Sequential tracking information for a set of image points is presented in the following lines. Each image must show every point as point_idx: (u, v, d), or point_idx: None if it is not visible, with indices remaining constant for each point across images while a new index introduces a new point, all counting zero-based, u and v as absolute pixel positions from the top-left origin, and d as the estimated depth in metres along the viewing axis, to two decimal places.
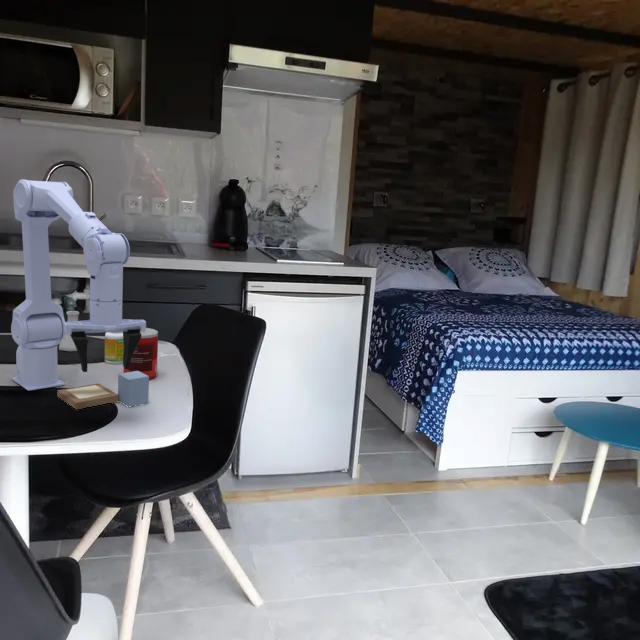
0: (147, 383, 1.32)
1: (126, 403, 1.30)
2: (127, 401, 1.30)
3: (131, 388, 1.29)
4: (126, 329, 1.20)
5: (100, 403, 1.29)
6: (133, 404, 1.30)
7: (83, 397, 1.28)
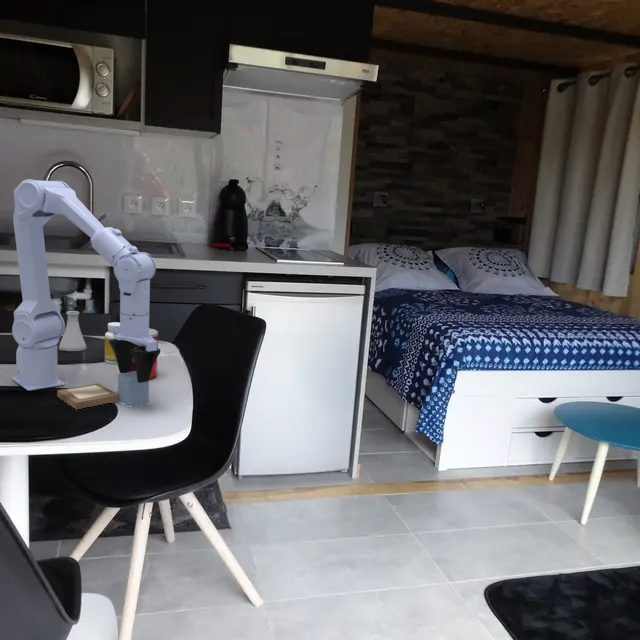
0: (147, 383, 1.32)
1: (126, 403, 1.30)
2: (127, 401, 1.30)
3: (131, 388, 1.29)
4: (142, 345, 1.27)
5: (100, 403, 1.29)
6: (133, 404, 1.30)
7: (83, 397, 1.28)
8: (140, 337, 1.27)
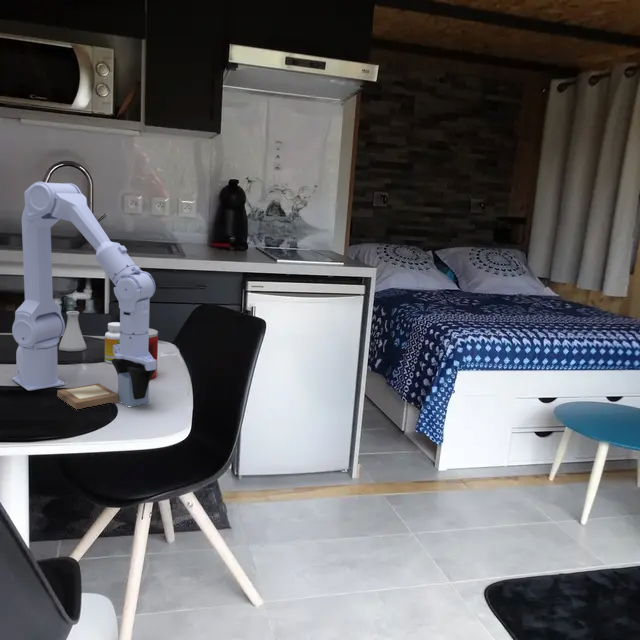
0: None
1: (126, 403, 1.30)
2: (127, 400, 1.30)
3: (131, 388, 1.29)
4: (141, 364, 1.28)
5: (100, 403, 1.29)
6: (133, 404, 1.30)
7: (83, 397, 1.28)
8: (140, 356, 1.28)
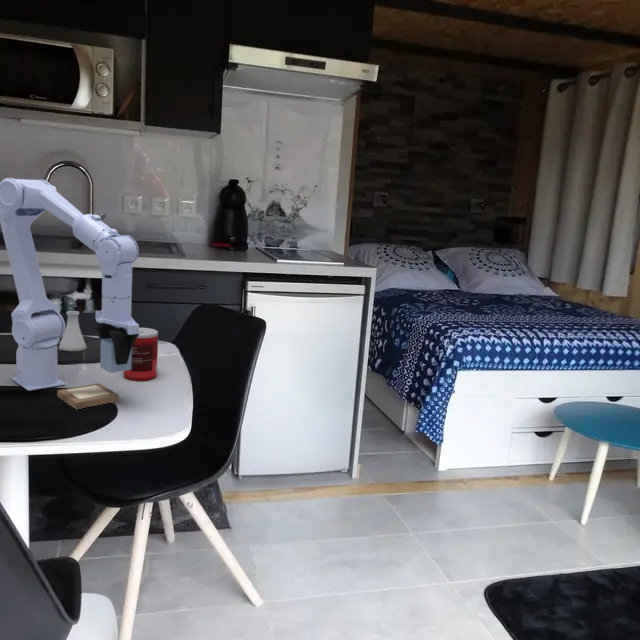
0: None
1: (108, 368, 1.28)
2: (109, 366, 1.28)
3: (113, 353, 1.27)
4: (123, 328, 1.26)
5: (100, 403, 1.29)
6: (115, 369, 1.29)
7: (83, 397, 1.28)
8: (122, 320, 1.26)
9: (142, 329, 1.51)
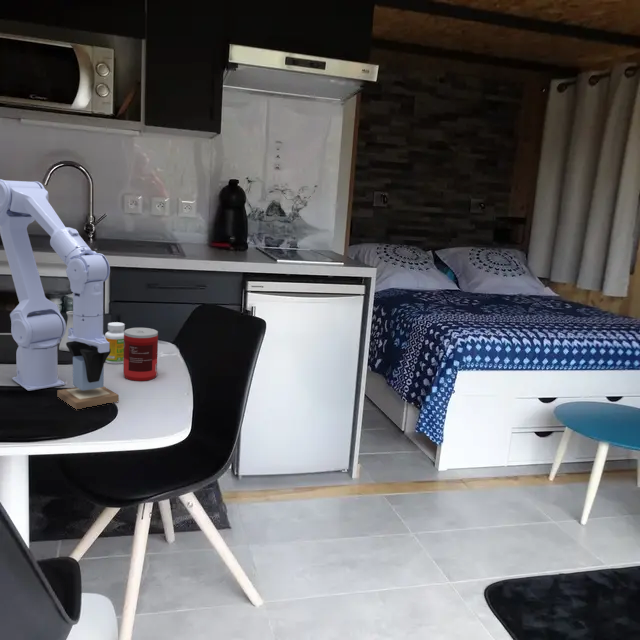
0: None
1: (80, 386, 1.29)
2: (81, 384, 1.28)
3: (85, 371, 1.28)
4: (95, 346, 1.27)
5: (100, 403, 1.29)
6: (87, 387, 1.29)
7: (83, 397, 1.28)
8: (93, 338, 1.27)
9: (142, 329, 1.51)
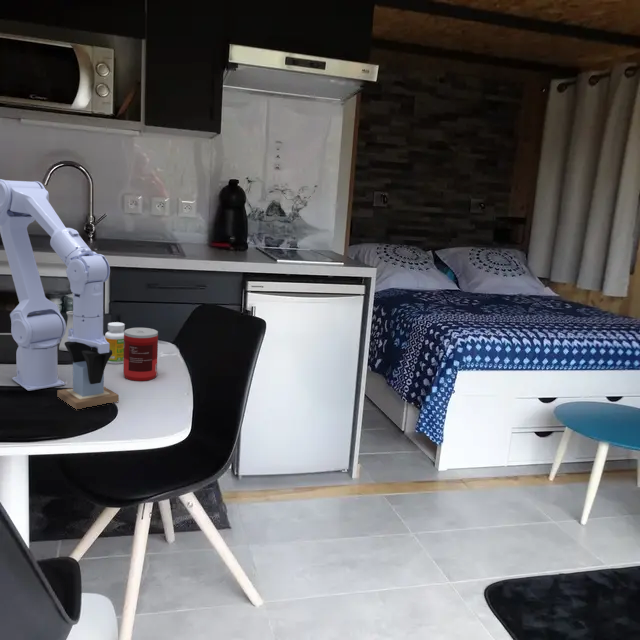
0: None
1: (80, 392, 1.29)
2: (81, 390, 1.28)
3: (85, 377, 1.28)
4: (95, 347, 1.27)
5: (100, 403, 1.29)
6: (87, 393, 1.29)
7: (83, 397, 1.28)
8: (93, 339, 1.27)
9: (142, 329, 1.51)
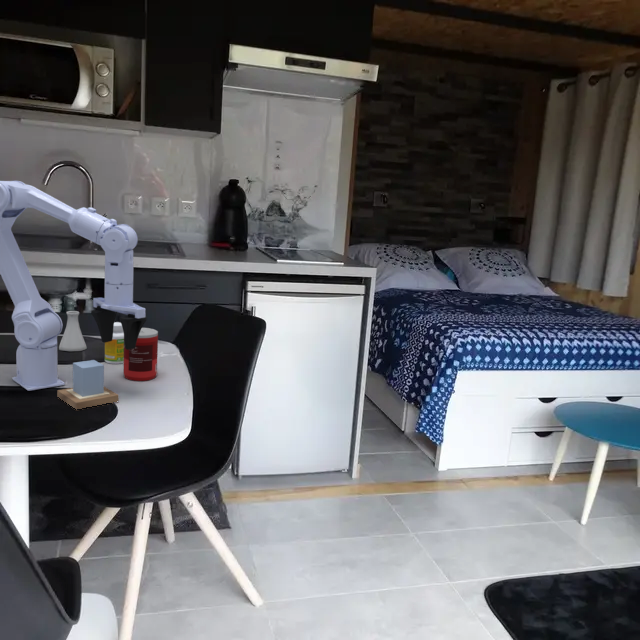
0: (102, 372, 1.30)
1: (80, 392, 1.29)
2: (81, 390, 1.28)
3: (85, 377, 1.28)
4: (129, 313, 1.32)
5: (100, 403, 1.29)
6: (87, 393, 1.29)
7: (83, 397, 1.28)
8: (127, 306, 1.33)
9: (142, 329, 1.51)
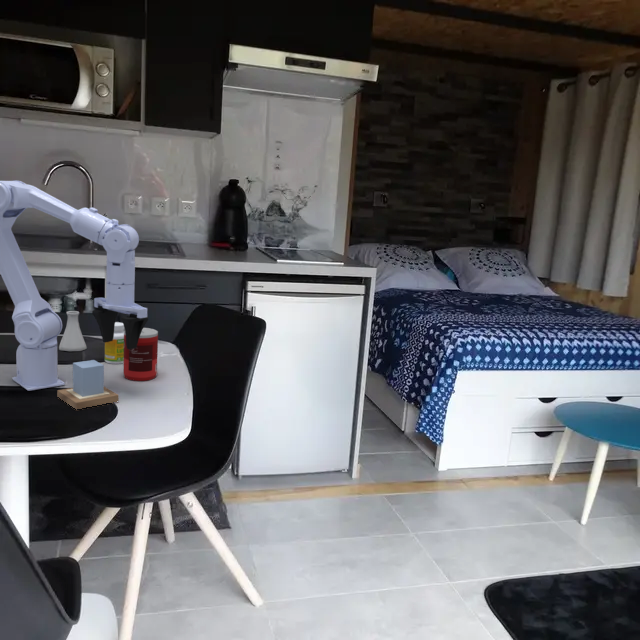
0: (102, 372, 1.30)
1: (80, 392, 1.29)
2: (81, 390, 1.28)
3: (85, 377, 1.28)
4: (130, 313, 1.33)
5: (100, 403, 1.29)
6: (87, 393, 1.29)
7: (83, 397, 1.28)
8: (128, 305, 1.33)
9: (142, 329, 1.51)
